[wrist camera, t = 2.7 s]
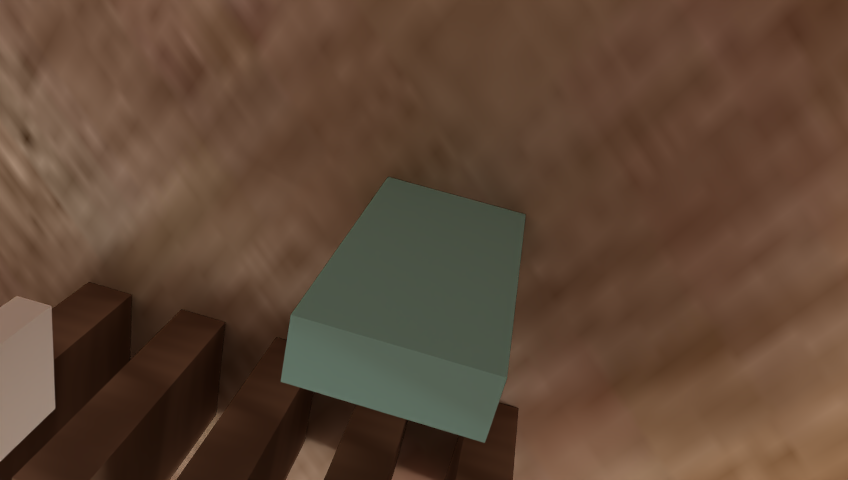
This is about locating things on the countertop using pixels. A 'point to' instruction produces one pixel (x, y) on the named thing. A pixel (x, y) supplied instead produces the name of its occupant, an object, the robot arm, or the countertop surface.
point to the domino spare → (414, 310)
